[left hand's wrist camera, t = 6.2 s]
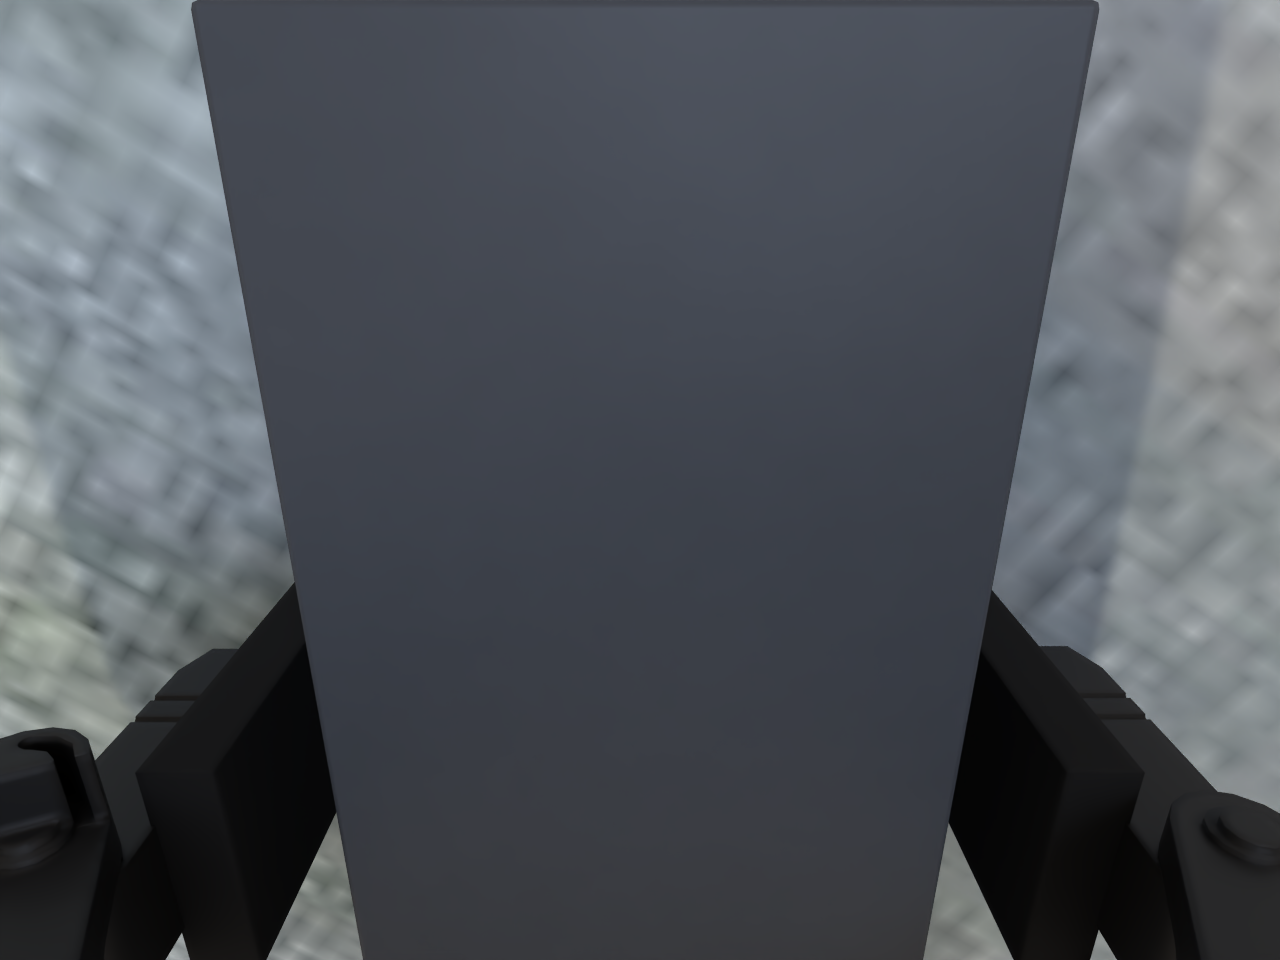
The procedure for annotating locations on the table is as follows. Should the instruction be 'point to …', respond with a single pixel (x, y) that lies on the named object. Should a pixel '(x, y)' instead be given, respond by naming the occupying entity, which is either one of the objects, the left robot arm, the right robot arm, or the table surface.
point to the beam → (644, 441)
